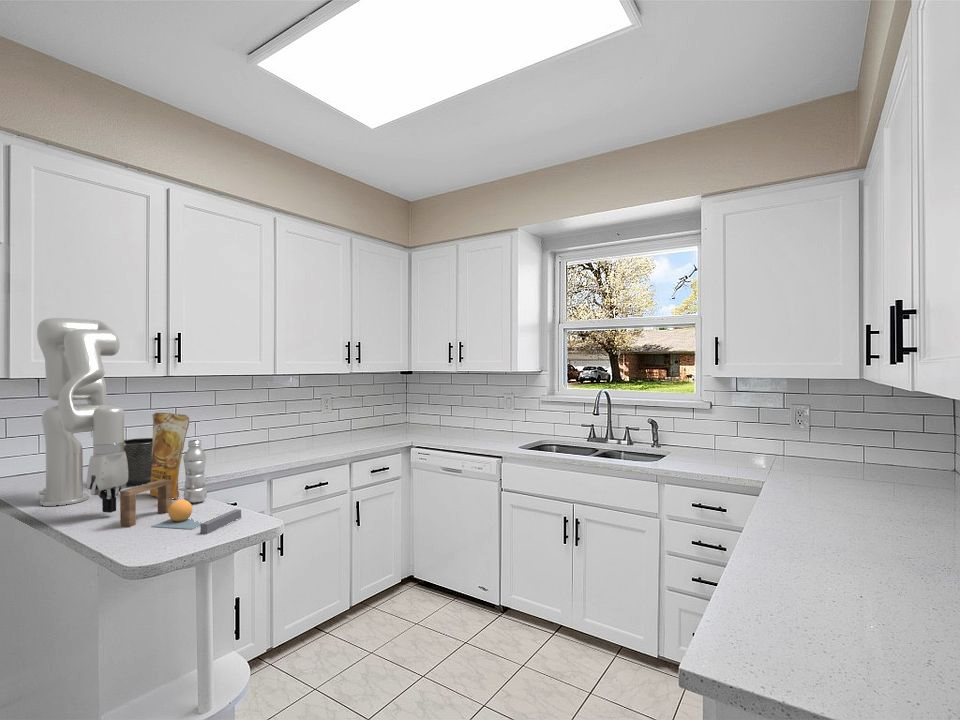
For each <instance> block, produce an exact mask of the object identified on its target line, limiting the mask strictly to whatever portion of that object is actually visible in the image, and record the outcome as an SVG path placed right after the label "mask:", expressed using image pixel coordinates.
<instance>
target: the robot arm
mask: <svg viewBox="0 0 960 720" xmlns="http://www.w3.org/2000/svg"><path fill="white" fill-rule="evenodd" d="M36 337H37V341H38V346H39V347H40V351H41V352H42V355H43V357H44V369H45V385H46V386H45V388H46V393H47V397H48V398H49V400H52V401H57V405H52V406H50V407H48V408H46V409H45V410H44V411H43V412H42V414H41V424H42V428H43V433H44V435H43V436H44V440H45V441H44V443H45V487H44V488H43V489H42V490H39V492H38V495H39V496H40V495H41V496H42V495H43V499H41V500H39V505H40V506H42V505H43V506H42V507H56V505H59V506H65V505H66V504H67V505H72V504H77V503H81V502H84V501H86V500H88V499H89V498H90V495H91V496H98V497H99V499H100V500H102V508H101V509H102V513H113V512H116V511H117V498H118V496H119V495H120V491H122V490H124V489H125V488H126V487H127V486H126V483H127V482H128V462H127V456H126V452H124V447H125V446H126V444H125V443H124V440H125V411H124V409H123V408H122V407H119V406H114V405H110V404H109V405H108V399H107V398H108V395H107V394H108V393H107V383H106V380H105V378H104V376H105V368H104V365H103V359H102V357H112V356H113V357H114V356H116V355H117V354H118V352H119V350H120V347H121V346H120V339H119V337H118V335H117V333H116V332H115V331H114V330H113V329H112V328H111V327H110V326H108V324H106V323H105V322H103V321H101V320H97V319H86V318H84V319H83V318H82V319H81V318H70V317H68V318H67V317H50V318H45V319H43V320H41V321H40V322H39V324H38V325H37V329H36ZM81 400H84V401H86V403H75V404H74V402H73V401H81ZM89 432H92V453H93V454H92V455H91V456H90V457H89V461H88V466H87V475H86V488H87V490H90V491H91V492H90V495H89V494H88V493H84V467H83V463H84V460H83V458H84V456H83V454H84V452H83V451H84V450H83V445H82V443H81V441H80V440H79V439H78V438H76V437H75V435H74V434H78V433H79V434H80V433H89Z"/></svg>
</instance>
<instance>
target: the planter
mask: <svg viewBox="0 0 960 720" xmlns="http://www.w3.org/2000/svg"><path fill="white" fill-rule="evenodd" d="M152 439H153V437H145V438H144V437H143V438H140V437H139V438H129V439H124V443H125V444H126V446H125V447H124V452H126V456H127V462H128V482H127V483H126V487H137V486H136V485H139V486H141V485H142V484H147V483H151V471H152V445H153V444H152Z"/></svg>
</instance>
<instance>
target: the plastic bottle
mask: <svg viewBox="0 0 960 720" xmlns="http://www.w3.org/2000/svg"><path fill="white" fill-rule="evenodd" d="M187 447H188V449H187V450H186V452H185V453H184V454H183V458H182V459H183V464H184V471H185V483H184V484H185V485H184V491H183V500H186V501H188V502H189V503H190V504H198V503H201V502H203V501H205V500H206V498H207V494H208V491H207V486H206V481H205V467H206V461H207V460H206V458H207V454H206V453H205V451H204V449H202V440H201V439H192V440H188V444H187ZM197 502H198V503H197Z"/></svg>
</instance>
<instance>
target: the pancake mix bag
mask: <svg viewBox="0 0 960 720" xmlns="http://www.w3.org/2000/svg"><path fill="white" fill-rule="evenodd" d="M189 425H190V417H189V416H188V415H186V414H176V413H171V412H155V413H153V414H152V438H153V439H152V444H153V445H152V471H151V482H150V483H152V482H155V481H159V480H162V479H167V480H171V496H172V498H175V499H174V500H178V499H179V498H180V491H179V475H180V468H181V462H182V455H183V450H184V448H185V447H184V446H185V442H186V437H187V434H188V429H189ZM149 496H151V497H153V496H155V497H154V498H157V497H158V488H155V489H152V490H149ZM178 497H179V498H178ZM177 498H178V499H177Z"/></svg>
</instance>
